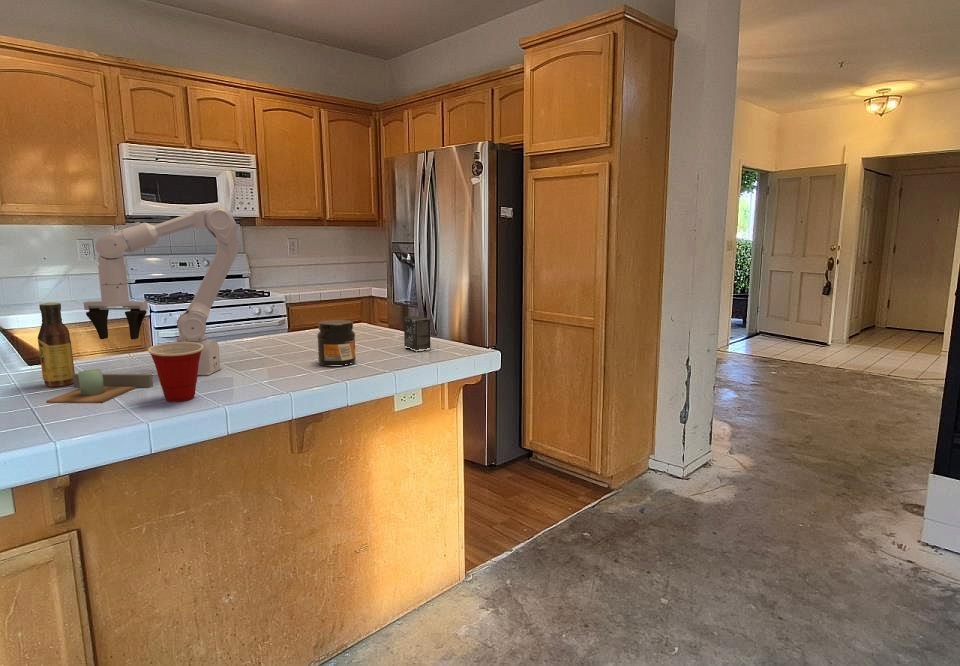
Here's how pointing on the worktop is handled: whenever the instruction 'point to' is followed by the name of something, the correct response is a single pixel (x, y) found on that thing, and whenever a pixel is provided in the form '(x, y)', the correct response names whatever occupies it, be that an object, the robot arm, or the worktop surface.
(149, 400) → the worktop surface
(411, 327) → the box
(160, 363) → the plastic cup
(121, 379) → the taupe wall
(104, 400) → the walnut board
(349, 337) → the supplement container
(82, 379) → the sage green cylinder
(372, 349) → the worktop surface
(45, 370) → the sauce bottle
